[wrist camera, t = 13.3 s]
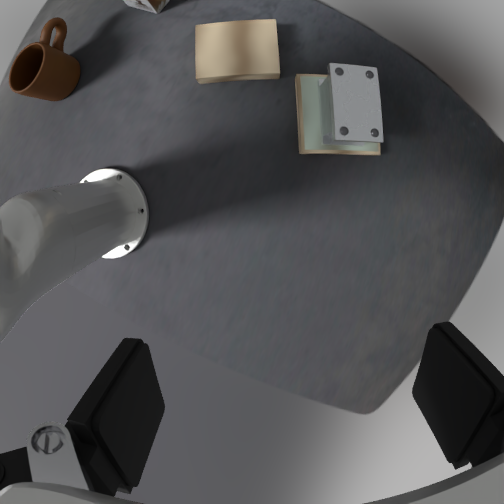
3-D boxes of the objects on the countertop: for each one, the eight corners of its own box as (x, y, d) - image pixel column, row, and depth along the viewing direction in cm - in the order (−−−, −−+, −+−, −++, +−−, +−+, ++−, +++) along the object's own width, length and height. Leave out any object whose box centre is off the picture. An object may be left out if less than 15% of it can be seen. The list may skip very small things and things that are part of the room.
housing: (317, 81, 31) (329, 62, 24) (356, 84, 31) (377, 67, 24) (321, 145, 33) (335, 139, 26) (361, 146, 33) (383, 142, 26)
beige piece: (200, 84, 33) (195, 78, 31) (199, 32, 31) (195, 25, 29) (278, 78, 33) (280, 73, 31) (275, 27, 31) (275, 19, 28)
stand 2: (299, 153, 36) (301, 152, 33) (294, 78, 33) (296, 73, 31) (374, 155, 35) (381, 154, 33) (369, 83, 33) (375, 78, 30)
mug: (67, 32, 30) (34, 14, 21) (101, 34, 31) (69, 11, 22) (39, 99, 34) (1, 91, 24) (71, 105, 34) (32, 96, 25)
